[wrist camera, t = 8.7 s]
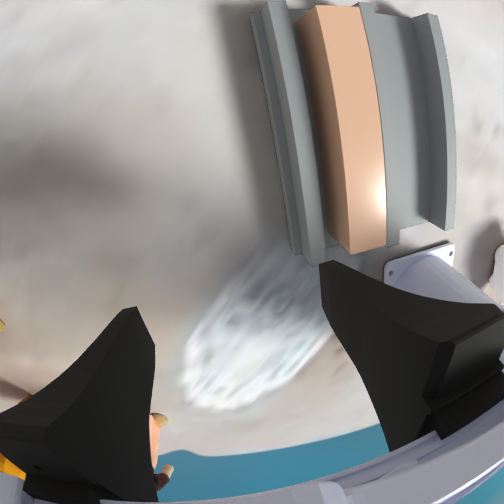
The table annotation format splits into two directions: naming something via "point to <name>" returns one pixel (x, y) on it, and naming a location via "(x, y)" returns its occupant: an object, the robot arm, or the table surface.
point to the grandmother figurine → (154, 427)
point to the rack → (391, 117)
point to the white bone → (498, 275)
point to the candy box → (1, 325)
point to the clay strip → (346, 124)
